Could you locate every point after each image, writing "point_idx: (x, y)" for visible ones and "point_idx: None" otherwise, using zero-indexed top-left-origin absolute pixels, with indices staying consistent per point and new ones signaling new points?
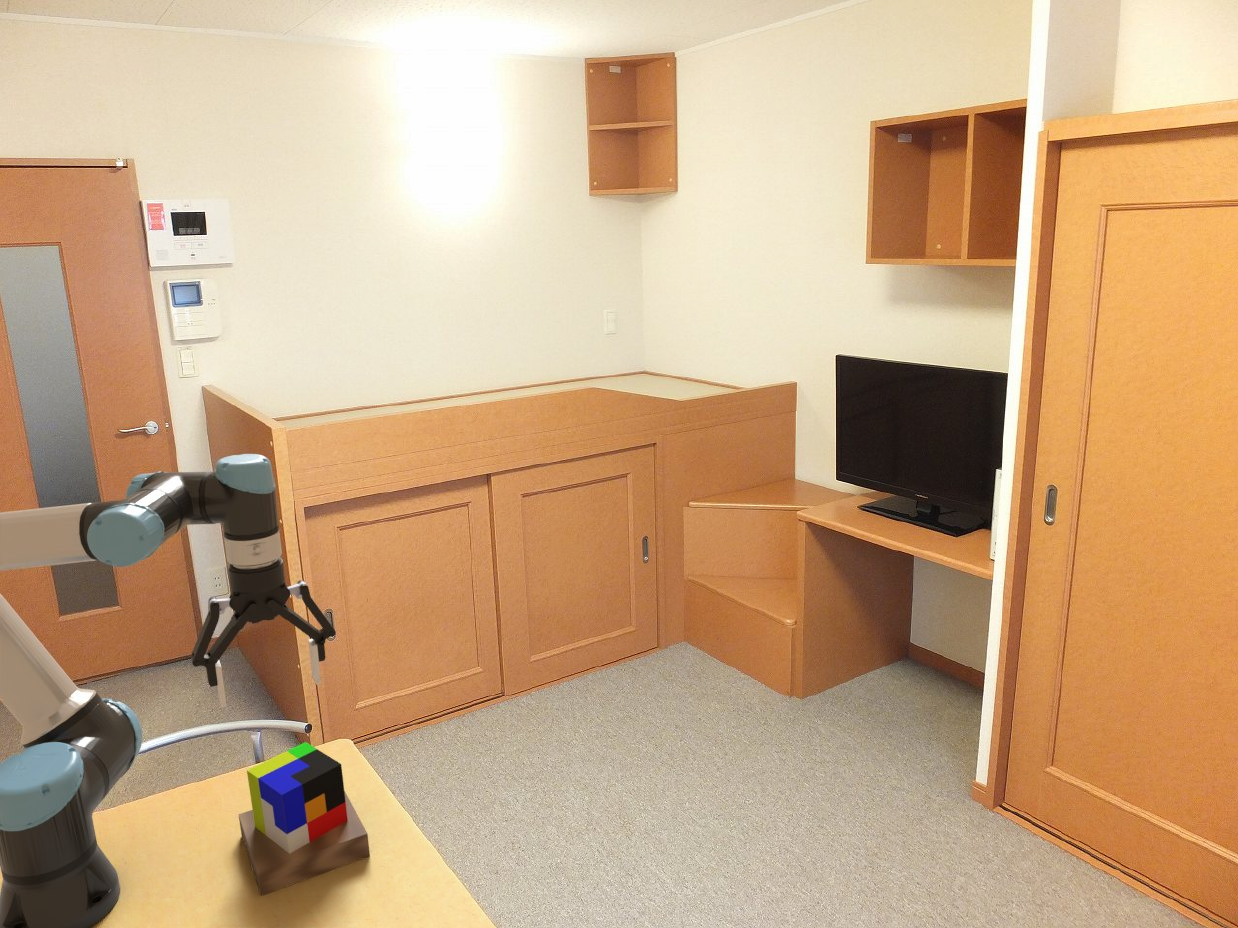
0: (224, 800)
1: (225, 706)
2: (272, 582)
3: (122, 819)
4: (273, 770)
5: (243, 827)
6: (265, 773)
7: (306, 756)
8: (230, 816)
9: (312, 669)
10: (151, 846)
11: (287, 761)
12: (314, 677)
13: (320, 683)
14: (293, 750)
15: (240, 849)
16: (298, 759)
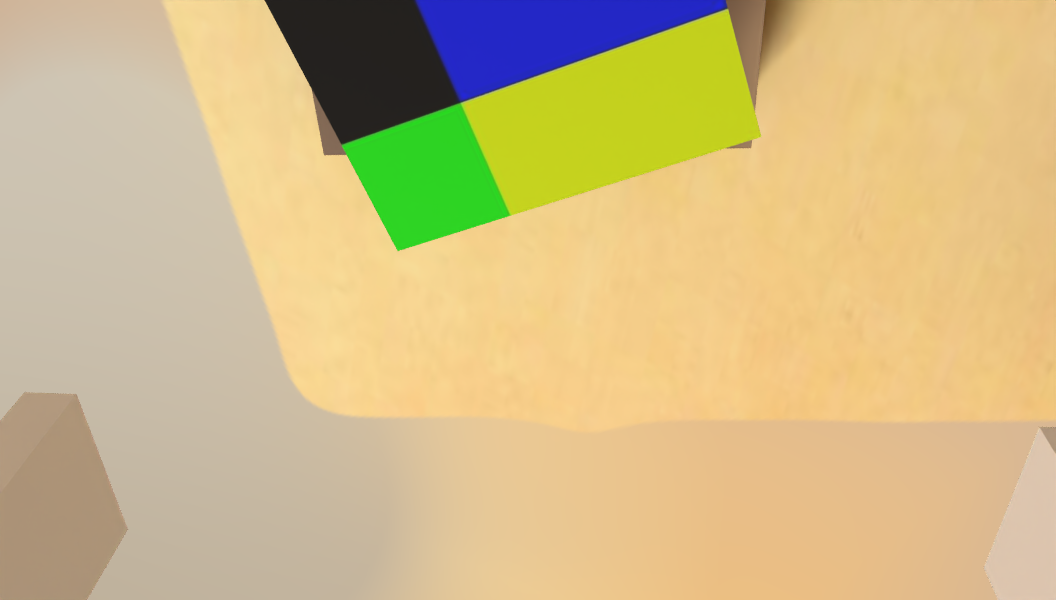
0: (733, 338)
1: (1052, 429)
2: None
3: (1043, 400)
4: (622, 46)
5: (759, 40)
6: (673, 38)
7: (410, 96)
8: (739, 242)
9: (53, 586)
10: (1026, 214)
11: (525, 103)
12: (62, 480)
13: (30, 395)
14: (473, 202)
15: None
16: (460, 90)
